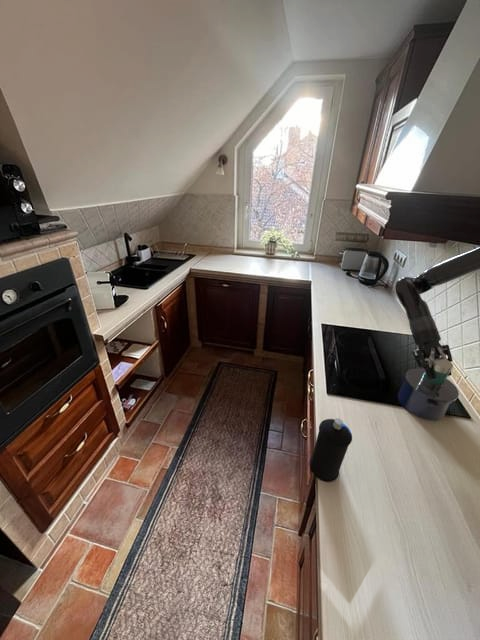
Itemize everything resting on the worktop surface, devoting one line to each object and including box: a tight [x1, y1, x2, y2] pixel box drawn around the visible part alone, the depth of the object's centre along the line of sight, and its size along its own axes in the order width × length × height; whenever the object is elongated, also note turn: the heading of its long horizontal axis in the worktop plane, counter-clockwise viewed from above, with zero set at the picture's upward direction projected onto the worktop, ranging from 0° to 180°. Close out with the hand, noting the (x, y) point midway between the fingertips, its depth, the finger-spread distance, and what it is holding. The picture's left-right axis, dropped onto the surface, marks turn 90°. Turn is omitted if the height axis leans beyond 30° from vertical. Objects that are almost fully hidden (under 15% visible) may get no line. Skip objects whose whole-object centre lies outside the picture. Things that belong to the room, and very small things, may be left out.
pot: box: [397, 368, 460, 421], centre depth 92 cm, size 16×18×10 cm
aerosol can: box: [309, 417, 353, 483], centre depth 68 cm, size 8×8×20 cm
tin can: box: [421, 357, 454, 389], centre depth 87 cm, size 6×6×10 cm
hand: (440, 377), depth 86 cm, fingers closed on tin can, 6 cm apart
